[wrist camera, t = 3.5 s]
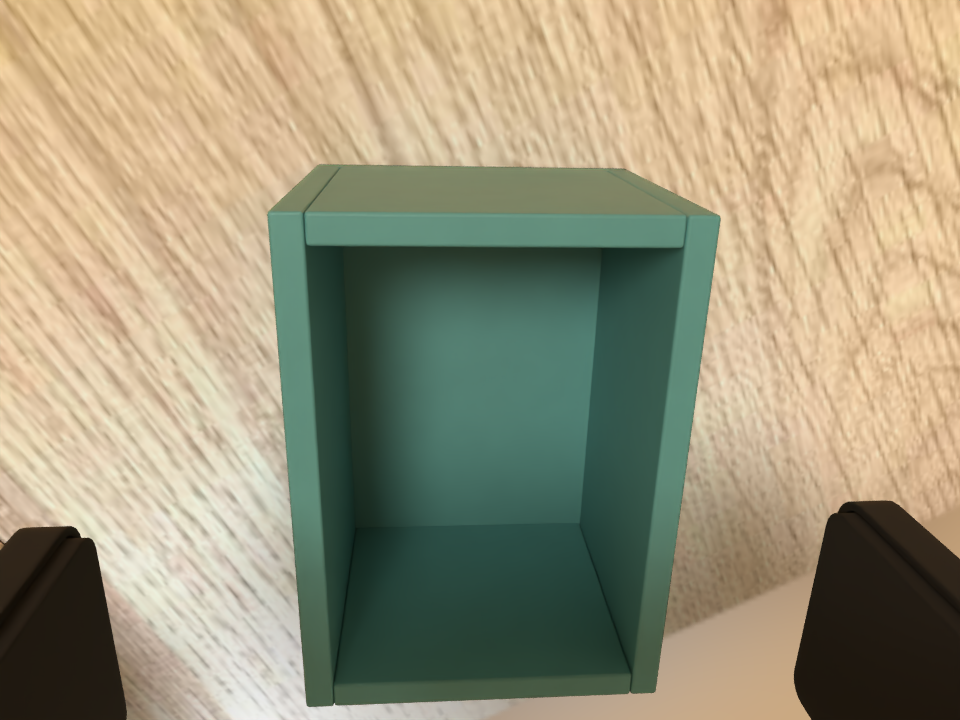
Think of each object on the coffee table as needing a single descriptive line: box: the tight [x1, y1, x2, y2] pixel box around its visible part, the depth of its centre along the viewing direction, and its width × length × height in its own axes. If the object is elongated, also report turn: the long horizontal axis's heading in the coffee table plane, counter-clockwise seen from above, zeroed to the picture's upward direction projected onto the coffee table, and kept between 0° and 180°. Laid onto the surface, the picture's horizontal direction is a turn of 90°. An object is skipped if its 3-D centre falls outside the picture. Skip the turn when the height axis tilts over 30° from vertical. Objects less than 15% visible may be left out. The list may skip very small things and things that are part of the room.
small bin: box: [267, 164, 720, 707], centre depth 15 cm, size 6×9×6 cm
